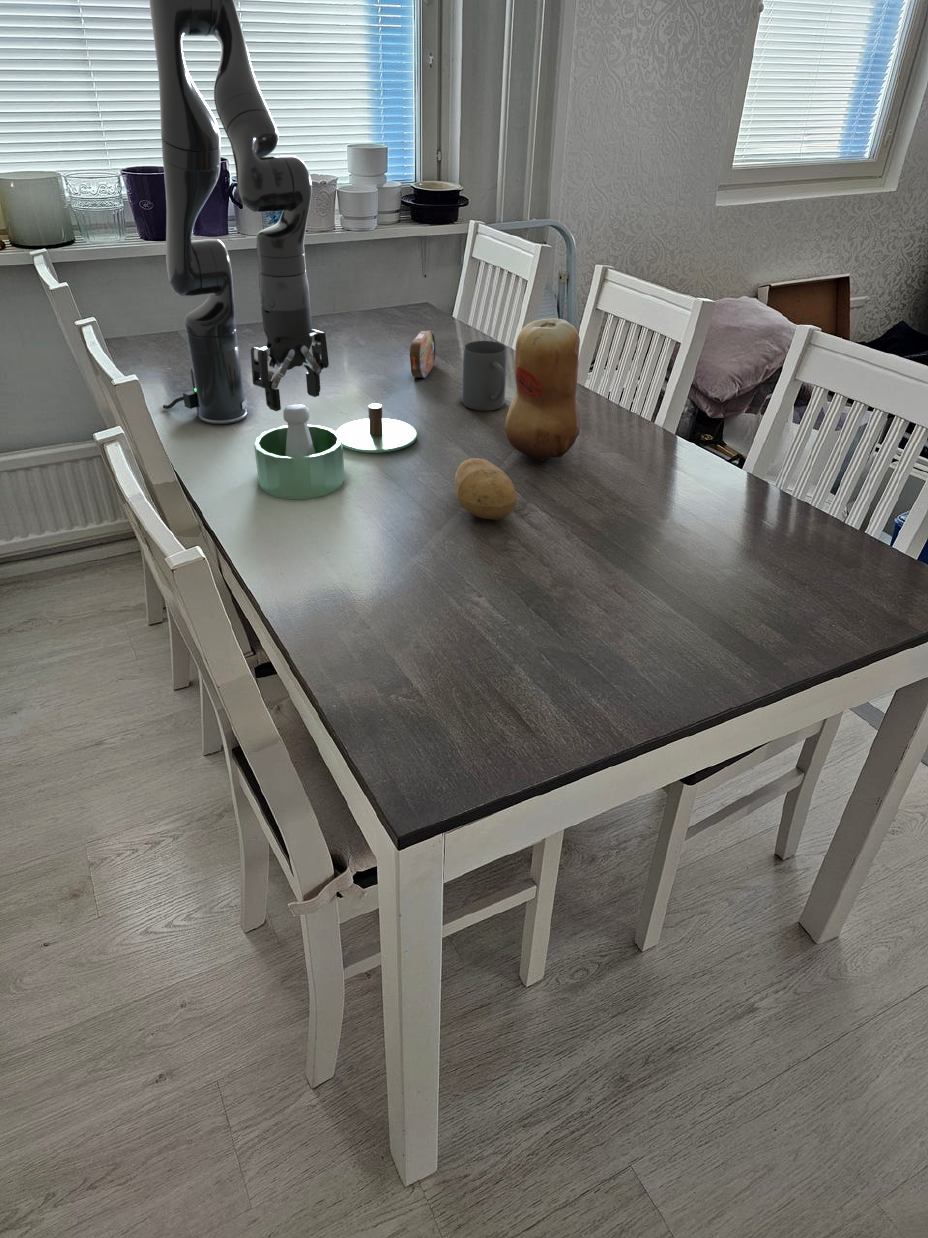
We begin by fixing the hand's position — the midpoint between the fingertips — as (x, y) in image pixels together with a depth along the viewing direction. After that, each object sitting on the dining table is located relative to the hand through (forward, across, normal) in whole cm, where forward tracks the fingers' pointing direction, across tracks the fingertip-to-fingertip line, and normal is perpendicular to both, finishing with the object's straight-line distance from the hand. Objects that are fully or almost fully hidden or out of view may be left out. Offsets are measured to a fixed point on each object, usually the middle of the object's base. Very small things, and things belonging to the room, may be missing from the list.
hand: (294, 402), depth 142 cm
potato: (+14, -11, +32) cm, 37 cm away
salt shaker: (+14, 0, 0) cm, 14 cm away
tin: (+15, -58, -22) cm, 64 cm away
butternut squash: (+14, -36, +26) cm, 47 cm away
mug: (+14, -50, +3) cm, 52 cm away
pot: (+14, 0, 0) cm, 14 cm away
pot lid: (+14, -22, -3) cm, 26 cm away
